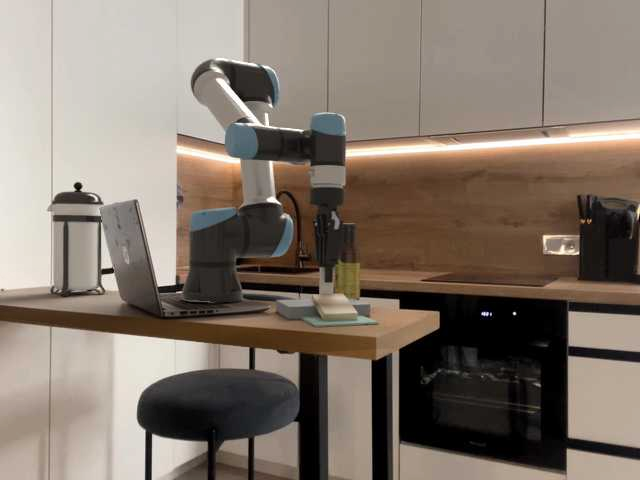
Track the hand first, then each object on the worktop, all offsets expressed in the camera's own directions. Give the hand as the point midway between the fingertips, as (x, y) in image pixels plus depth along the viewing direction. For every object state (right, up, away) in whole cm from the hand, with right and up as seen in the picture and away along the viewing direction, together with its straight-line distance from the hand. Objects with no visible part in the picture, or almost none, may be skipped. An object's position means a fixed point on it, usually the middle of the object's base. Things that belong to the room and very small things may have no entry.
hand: (326, 297), depth 125 cm
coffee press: (-66, -2, +33) cm, 74 cm away
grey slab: (-1, -4, +2) cm, 5 cm away
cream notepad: (+1, -2, -5) cm, 5 cm away
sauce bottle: (+5, -4, +19) cm, 20 cm away
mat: (+2, -4, -8) cm, 9 cm away
